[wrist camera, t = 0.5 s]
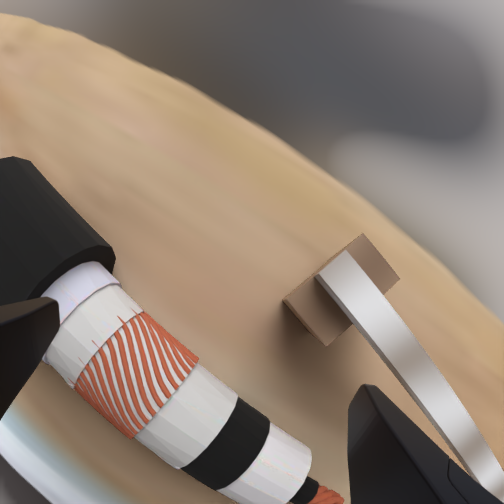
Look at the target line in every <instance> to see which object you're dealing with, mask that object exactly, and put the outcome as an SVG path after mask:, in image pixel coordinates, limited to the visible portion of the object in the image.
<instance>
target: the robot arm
mask: <svg viewBox="0 0 504 504" xmlns="http://www.w3.org/2000/svg"><path fill="white" fill-rule="evenodd" d="M59 328H60V313H59V303H58V301H57V300H55V299H52V298H50V297H47V296H45V297H40V298H36V299H31V300H26V301H22V302H17V303H12V304H8V305H3V306H0V420H1V418H2V417H3V415H4V414H5V412H6V411H7V409H8V408H9V406H10V405H11V403H12V402H13V400H14V399H15V397H16V396H17V395H18V393H19V392H20V390H21V389H22V387H23V386H24V385H25V383H26V382H27V380H28V379H29V378H30V376H31V375H32V373H33V372H34V371H35V369H36V368H37V366H38V364H39V363H40V361H41V360H42V358H43V356H44V354H45V353H46V351H47V349H48V348H49V346H50V344H51V343H52V341H53V339H54V338H55V336H56V334H57V333H58V331H59ZM347 455H348V469H349V481H350V496H351V504H504V503H503V502H502V501H500V500H499V499H498V498H497V497H495V496H494V495H493V494H491V493H490V492H489V491H488V490H486V489H485V488H484V487H483V486H481V485H480V484H479V483H478V482H476V481H475V480H474V479H473V478H472V477H470V476H469V475H468V474H467V473H466V472H465V471H464V470H463V469H461V468H460V467H459V466H458V465H457V464H456V463H455V462H454V461H453V460H452V459H451V458H450V459H449V456H448V455H447V454H446V453H445V452H444V451H443V450H442V449H441V448H439V447H438V446H437V445H436V444H435V443H434V442H433V441H432V440H431V439H430V438H429V437H428V436H427V435H426V434H425V433H424V432H423V431H422V430H421V429H420V428H419V427H418V426H417V425H416V424H415V423H414V422H413V421H412V420H411V419H410V418H408V417H407V416H406V415H405V414H404V413H403V412H402V411H401V410H400V409H399V408H398V407H397V406H396V405H395V404H394V403H393V402H392V401H391V400H390V399H389V398H388V397H387V396H386V395H385V394H384V393H383V392H382V391H381V390H380V389H379V388H378V387H377V386H375V385H368V384H363V385H361V386H360V388H359V389H358V391H357V393H356V394H355V396H354V398H353V400H352V401H351V403H350V405H349V409H348V447H347Z"/></svg>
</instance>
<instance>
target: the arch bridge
mask: <svg viewBox="0 0 504 504" xmlns="http://www.w3.org/2000/svg"><path fill="white" fill-rule="evenodd" d="M399 279H400V278H399V277H398V275H397V274H396V273H395V271H394V270H393V269H392V268H391V266H390V265H389V264H388V263H387V261H386V260H385V259H384V258H383V256H382V255H381V254H380V253H379V252H378V250H377V249H376V248H375V247H374V245H373V244H372V243H371V242H370V241H369V239H368V238H367V237H366V236H365V235H364V234H363V233H362V234H361V235H360V236H358V237H357V238H356V239H355V240H353V241H352V242H351V243H349V244H348V245H347V246H346V247H344V248H343V249H342V250H340V251H339V252H338V253H336V254H335V255H334V256H333V257H332V258H331V259H330V260H328V261H327V262H326V263H325V264H324V265H323V266H322V267H320V268H319V269H318V270H317V271H316V272H315V273H313V274H312V275H311V276H310V277H309V278H308V279H306V280H305V281H304V282H303V283H302V284H301V285H299V286H298V287H297V288H296V289H295V290H293V291H292V292H291V293H290V294H289V295H287V296H286V297H285V298H284V299H283V301H284V302H285V304H286V305H287V306H288V307H289V308H290V310H291V311H292V312H293V313H294V314H295V316H296V317H297V318H298V319H299V320H300V322H301V323H302V324H303V325H304V326H305V328H306V329H307V330H308V331H309V332H310V333H311V334H312V335H313V336H314V337H315V338H317V339H318V340H319V341H320V342H321V343H323V344H324V345H325V346H326V347H327V346H328V345H329V344H330V343H331V342H332V341H334V340H335V339H336V338H337V337H338V336H339V335H341V334H342V333H343V332H344V331H345V330H346V329H347V328H348V327H350V326H351V325H352V324H354V325H355V326H356V328H357V329H358V330H359V331H360V333H361V334H362V335H363V336H364V338H365V339H366V340H367V341H368V343H369V344H370V345H371V346H372V348H373V349H374V350H375V351H376V353H377V354H378V355H379V356H380V358H381V359H382V360H383V361H384V363H385V364H386V365H387V366H388V368H389V369H390V370H391V371H392V373H393V374H394V375H395V377H396V378H397V379H398V380H399V382H400V383H401V384H402V385H403V387H404V388H405V389H406V391H407V392H408V393H409V394H410V396H411V397H412V398H413V400H414V401H415V402H416V404H417V405H418V406H419V407H420V409H421V410H422V411H423V413H424V414H425V415H426V417H427V418H428V419H429V421H430V422H431V423H432V425H433V426H434V427H435V428H436V430H437V431H438V432H439V434H440V435H441V436H442V438H443V439H444V440H445V442H446V443H447V445H448V446H449V447H450V449H451V450H452V451H453V453H454V454H455V455H456V457H457V458H458V459H459V461H460V462H461V464H462V465H463V466H464V468H465V469H466V470H467V472H468V473H469V475H470V477H472V478H473V479H474V480H475V481H476V482H478V483H479V484H480V485H481V486H483V487H484V488H485V489H486V490H488V491H489V492H490V493H491V494H493V495H494V496H495V497H497V498H498V499H499V500H500V501H502V502H503V503H504V469H503V468H501V466H500V464H499V463H498V461H497V459H496V458H495V456H494V454H493V452H492V451H491V449H490V447H489V446H488V444H487V443H486V441H485V439H484V438H483V436H482V434H481V433H480V431H479V430H478V428H477V426H476V425H475V423H474V422H473V420H472V419H471V417H470V415H469V414H468V412H467V411H466V409H465V408H464V406H463V405H462V403H461V402H460V400H459V399H458V397H457V396H456V394H455V393H454V391H453V390H452V388H451V387H450V385H449V384H448V382H447V381H446V380H445V378H444V377H443V375H442V374H441V372H440V371H439V369H438V368H437V367H436V365H435V364H434V362H433V361H432V360H431V358H430V357H429V355H428V354H427V353H426V351H425V350H424V349H423V347H422V346H421V344H420V343H419V342H418V340H417V339H416V338H415V336H414V335H413V334H412V332H411V331H410V330H409V328H408V327H407V326H406V324H405V323H404V322H403V320H402V319H401V318H400V316H399V315H398V314H397V313H396V311H395V310H394V309H393V307H392V306H391V305H390V304H389V302H388V301H387V300H386V298H385V297H384V296H383V295H384V294H385V293H386V292H387V291H388V290H389V289H390V288H391V287H392V286H393V285H394V284H395V283H396V282H397V281H398V280H399Z"/></svg>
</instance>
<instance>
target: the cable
mask: <svg viewBox="0 0 504 504" xmlns="http://www.w3.org/2000/svg"><path fill="white" fill-rule="evenodd" d="M115 260H116V257H115V254H114V252H113V249H112V247H111V246H110V245H109V244H108V243H107V242H106V241H105V240H104V239H103V238H102V237H101V236H100V235H99V234H98V233H97V232H96V231H95V230H94V229H93V228H92V227H91V226H90V225H89V224H88V223H87V222H86V221H85V220H84V219H83V218H82V217H81V216H80V215H79V214H78V213H77V212H76V211H75V210H74V209H73V208H72V207H71V206H70V204H69V203H68V202H67V201H66V200H65V199H64V198H63V197H62V196H61V195H60V194H59V193H58V192H57V191H56V189H55V188H54V187H53V186H52V185H51V184H50V183H49V182H48V181H47V180H46V178H45V177H44V176H43V175H42V174H41V173H40V172H39V171H38V169H37V168H36V167H35V166H34V165H33V164H32V163H31V161H29V160H25V159H21V158H18V157H14V156H12V157H7V158H2V159H0V306H3V305H8V304H12V303H17V302H22V301H26V300H31V299H36V298H40V297H45V296H47V297H50V298H52V299H55V300H57V301H58V303H59V313H60V328H59V331H58V333H57V334H56V336H55V338H54V339H53V341H52V343H51V344H50V346H49V348H48V349H47V351H46V353H45V354H44V356H43V358H42V360H43V361H44V362H45V363H46V364H50V365H52V366H53V367H54V369H55V370H56V371H57V372H58V373H59V374H60V375H61V376H62V377H63V379H64V380H65V382H66V383H67V384H68V385H69V386H70V387H71V388H72V389H75V390H76V391H77V392H78V393H79V394H80V395H81V396H82V397H83V398H84V399H85V400H86V401H87V402H88V403H89V404H90V405H91V406H92V407H93V408H94V409H95V410H96V411H97V412H99V413H100V414H101V415H102V416H103V417H105V418H106V419H107V420H108V421H109V422H110V423H112V424H113V425H114V426H115V427H116V428H117V429H118V430H119V431H120V432H122V433H123V434H124V435H125V436H127V437H128V438H129V439H130V440H131V439H132V438H133V437H134V438H136V439H137V440H138V441H139V442H141V443H142V444H143V445H145V446H146V447H147V448H149V449H150V450H151V451H153V452H154V453H155V454H156V455H157V456H158V457H160V458H161V459H162V460H164V461H165V462H166V463H168V464H169V465H171V466H172V467H174V468H175V469H182V470H183V471H184V472H186V473H188V474H189V475H191V476H192V477H194V478H195V479H197V480H198V481H200V482H201V483H203V484H205V485H206V486H208V487H210V488H211V489H213V490H215V491H216V490H217V491H218V492H220V493H222V494H223V495H225V496H227V497H229V498H230V499H232V500H234V501H236V502H238V503H239V504H286V503H287V502H288V501H290V502H292V503H294V504H343V502H344V499H343V497H340V495H339V494H338V493H336V492H335V491H333V490H328V488H326V487H325V486H320V485H319V483H318V482H317V481H315V480H313V479H311V478H310V477H308V476H307V474H308V472H309V470H310V467H311V461H312V455H311V450H310V449H309V448H308V447H307V446H306V445H304V444H303V443H301V442H300V441H298V440H297V439H295V438H294V437H292V436H291V435H289V434H288V433H286V432H285V431H283V430H282V429H280V428H279V427H277V426H276V425H274V424H273V423H271V422H270V421H269V419H268V418H267V417H266V416H264V415H263V414H261V413H260V412H259V411H257V410H256V409H254V408H253V407H252V406H250V405H249V404H247V403H246V402H245V401H243V400H242V399H241V398H239V397H238V395H237V393H236V392H234V391H233V390H232V389H231V388H229V387H228V386H227V385H225V384H224V383H223V382H221V381H220V380H219V379H218V378H216V377H215V376H214V375H212V374H211V373H210V372H209V371H207V370H206V369H205V368H204V367H202V366H201V365H200V364H199V363H197V362H198V360H199V358H198V357H197V356H195V355H194V354H193V353H192V352H190V351H189V350H188V349H187V348H186V347H185V346H184V345H182V344H181V343H180V342H179V341H178V340H176V339H175V338H174V337H173V336H172V335H170V334H169V333H168V332H167V331H166V330H165V329H164V328H163V327H162V326H160V325H159V324H158V323H157V322H156V321H155V320H154V319H152V318H151V317H150V316H149V315H148V314H147V313H146V312H145V311H144V310H143V309H142V308H141V307H140V306H139V305H138V304H137V303H136V302H135V301H134V300H133V299H132V298H131V297H129V296H128V295H127V294H126V293H125V292H124V291H123V290H122V286H121V284H120V283H119V282H118V281H117V280H116V279H115V278H114V277H113V276H112V272H113V268H114V264H115Z"/></svg>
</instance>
